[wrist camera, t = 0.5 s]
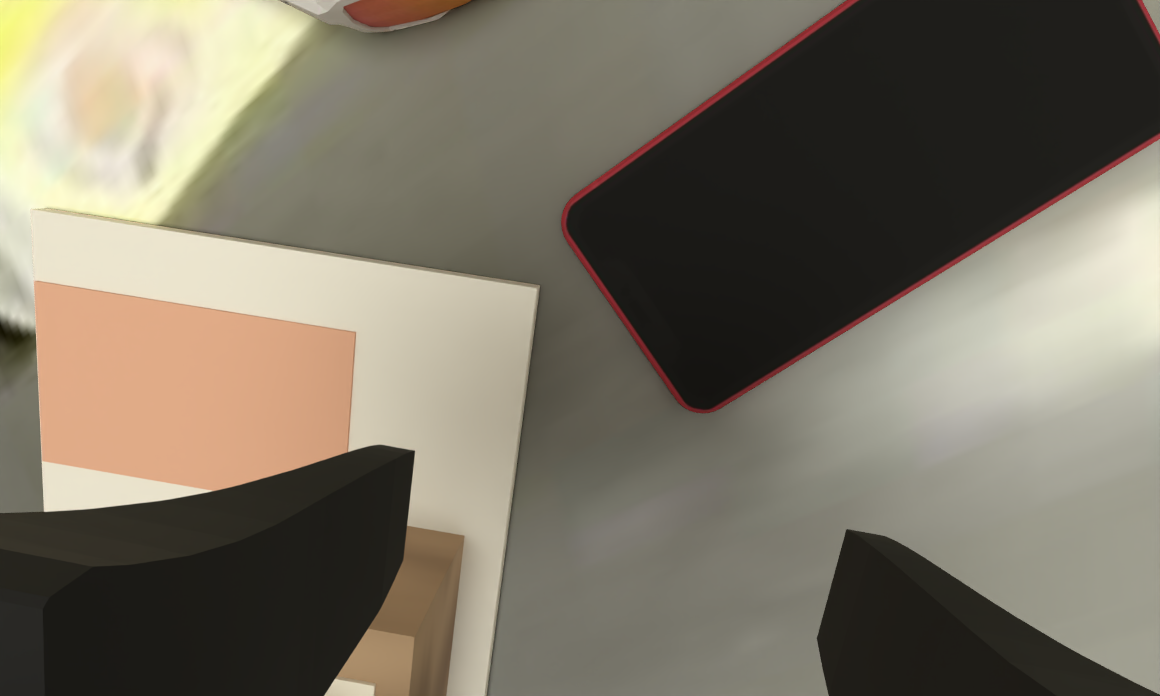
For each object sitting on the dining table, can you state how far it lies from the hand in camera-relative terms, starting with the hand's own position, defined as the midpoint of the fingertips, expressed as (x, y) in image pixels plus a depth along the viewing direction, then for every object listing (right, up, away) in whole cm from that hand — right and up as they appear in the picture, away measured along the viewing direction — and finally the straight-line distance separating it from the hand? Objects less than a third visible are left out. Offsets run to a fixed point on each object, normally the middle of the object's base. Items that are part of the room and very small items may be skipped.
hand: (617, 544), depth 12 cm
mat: (-10, -2, +11) cm, 15 cm away
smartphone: (+7, +8, +8) cm, 13 cm away
